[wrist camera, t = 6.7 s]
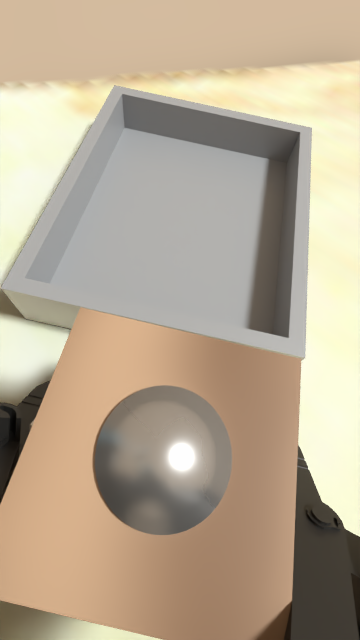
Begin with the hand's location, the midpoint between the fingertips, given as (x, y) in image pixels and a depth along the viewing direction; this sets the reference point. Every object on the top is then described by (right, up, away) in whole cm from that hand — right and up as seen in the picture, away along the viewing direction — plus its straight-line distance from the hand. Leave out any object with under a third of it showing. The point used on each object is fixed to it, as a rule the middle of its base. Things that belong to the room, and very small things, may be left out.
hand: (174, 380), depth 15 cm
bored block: (-1, -5, +2) cm, 5 cm away
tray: (+1, +11, +11) cm, 15 cm away
